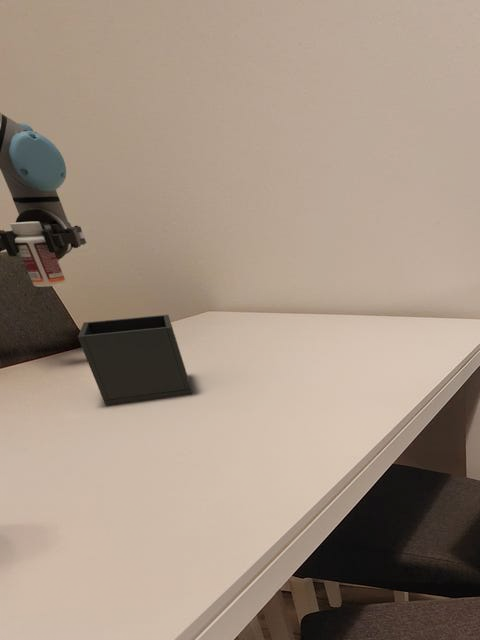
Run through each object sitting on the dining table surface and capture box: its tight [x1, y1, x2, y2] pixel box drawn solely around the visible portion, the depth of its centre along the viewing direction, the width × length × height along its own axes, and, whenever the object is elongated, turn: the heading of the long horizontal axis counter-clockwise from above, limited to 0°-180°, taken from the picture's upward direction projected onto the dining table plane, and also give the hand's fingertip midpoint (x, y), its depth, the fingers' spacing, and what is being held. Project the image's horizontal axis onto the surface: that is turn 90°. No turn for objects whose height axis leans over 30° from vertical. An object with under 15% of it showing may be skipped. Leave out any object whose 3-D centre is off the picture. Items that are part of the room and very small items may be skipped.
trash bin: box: [77, 314, 193, 407], centre depth 85 cm, size 11×11×9 cm
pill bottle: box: [9, 222, 67, 288], centre depth 93 cm, size 5×5×8 cm
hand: (28, 242), depth 89 cm, fingers closed on pill bottle, 5 cm apart
